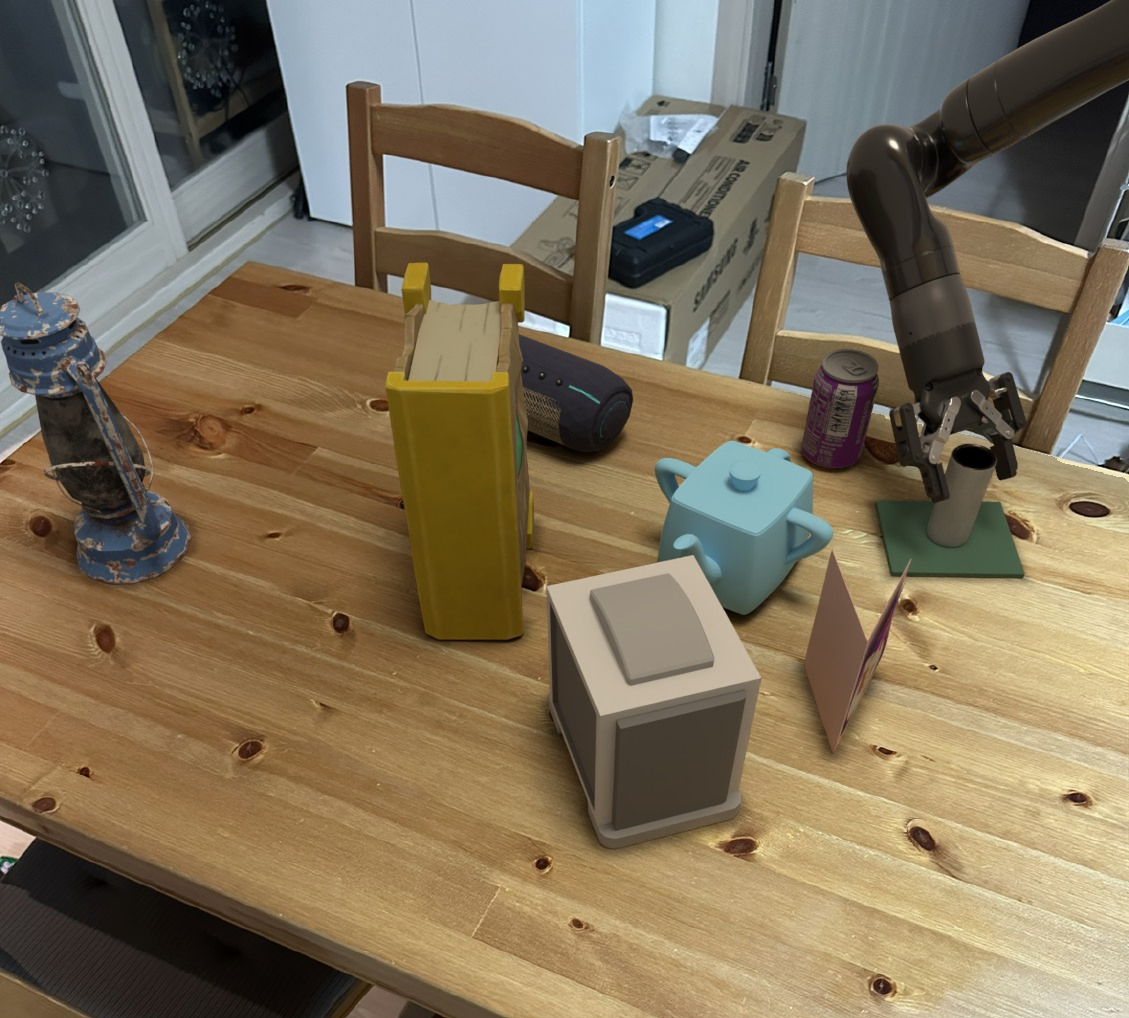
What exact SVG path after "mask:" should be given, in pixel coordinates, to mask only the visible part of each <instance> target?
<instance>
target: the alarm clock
mask: <svg viewBox="0 0 1129 1018" xmlns="http://www.w3.org/2000/svg"><path fill="white" fill-rule="evenodd" d="M546 611H547V613H546V615H547V617H546V618H547V643H548V645H547V648H548V676H549V677H548V678H549V692H548V696H547V697H548V698H547V700H548V701H547V704H548V707H547V708H548V709H549V713H550V715H551V717H552V720H553V723H554V726H555V728H556V730H557V734H562V737H563V739H564V742H565V745H566V747H567V750H568V752H569V755H570V757H571V760H572V763H573V765H574V768H575V771H576V773H577V776H578V778H579V779H578V780H579V781H580V784H581V786H582V789H583V792H584V794H585V797H586V800H587V812H588V815H589V818H590V820H591V823H592V826H593V829H594V831H595V834H596V837H597V839H598V842H599V844H600V845H602V846H603V847H605V848H608V849H613V850H616V849H621V848H625V847H629V846H632V845H636V844H640V843H644V842H648V841H651V840H656V839H659V838H663V837H667V836H671V835H675V834H679V833H682V832H688V831H690V830H694V829H699V828H702V827H706V826H709V825H714V824H717V823H721V822H725V821H730V820H734V818H735V817H736V816H737V815H738V814H739V812H740V807H741V803H742V799H743V798H742V797H743V795H742V794H741V792H740V786H741V782H742V776H743V771H744V767H745V761H746V757H747V753H748V752H747V751H748V746H749V741H750V737H751V732H752V728H753V727H752V726H753V722H754V717H755V712H756V707H757V702H758V697H759V692H760V688H761V682H762V676H761V674H760V672H759V671H758V669H757V667H756V665H755V663H754V661H753V660H752V658H751V656H750V653H748V651H747V649H746V647H745V645H744V643H743V642H742V640H741V638H740V636H739V635H738V633H737V631H736V629H735V627H734V625H733V624H732V622H731V621H730V618H729V616H728V614H727V613H726V611H725V608H724V607H722V606H721V604H720V602H719V600H718V599H717V597H716V595H715V593H714V591H713V590H712V588H711V586H710V584H709V582H708V581H707V579H706V577H705V575H704V573H703V572H702V570H701V568H700V566H699V564H698V562H697V561H696V559H695V557H694V555H691V556H687V557H682V558H677V559H672V560H667V561H662V562H658V561H657V562H653V563H649V564H644V565H640V566H639V565H638V566H634V567H630V568H629V567H628V568H625V569H620V570H616V571H611V572H606V573H600V574H597V575H592V576H587V577H583V578H582V577H581V578H578V579H574V580H568V581H564V582H559V583H555V584H550V585H546Z"/></svg>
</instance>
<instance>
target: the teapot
mask: <svg viewBox="0 0 1129 1018" xmlns="http://www.w3.org/2000/svg"><path fill="white" fill-rule="evenodd" d="M654 475H655V478H656V482H657V484H658V486H659V488H660V490H661V492H662V493H663V495H664V497H665V498H666V500H667V502H668V503H669V505H668V508H667V512H666V515H665V518H664V521H663V525H662V530H661V534H660V540H659V546H658V550H657V551H658V552H657V562H662V561H667V560H672V559H677V558H682V557H687V556H691V555H694V557H695V559H696V561H697V562H698V564H699V566H700V568H701V570H702V572H703V573H704V575H705V577H706V579H707V581H708V582H709V584H710V586H711V588H712V590H713V591H714V593H715V595H716V597H717V599H718V600H719V602H720V604H721V606H722V608H723V609H726V610H729V611H731V612H734V613H737V614H740V615H743V616H744V615H748V614H750V613H751V612H753V611H754V610H755V609H756V608H758V607H759V606H760V605H761V604H762V603H763V602H764V601H765V600H766V599H767V598H769V596H770V595H771V594H773V593H774V591H775V590H777V588H778V587H779V586H780V585H781V583H783V581H784V580H785V579H786V577H787V576H788V574H789V573H790V571H791V570H792V569H793V567H794V565H795V564H796V563H797V561H800V560H803V559H806V558H809V557H811V556H813V555H816V554H818V553H819V552H821V551H823V550H824V549H825V548H826V547H827V546H828V545H829V544H830V543H831V541H832V540H833V538H834V529H833V527H832V526H831V524H830V523H829V522H827V520H825V519H823V518H821V517H820V516H817V515H815V514H813V511H814V510H813V509H814V474H813V472H812V471H811V470H809V469H807V468H806V467H803V466H801V465H798V464H796V463H794V462H792V457H791V455H790V454H789V452H788V451H786V450H784V449H783V448H778V447H773V448H770V449H768V450H767V451H763V450H761V449H758V448H755V447H752V446H750V445H747V444H744V443H742V442H738V441H736V440H728V441H726V442H724V443H723V444H721V445H720V446H719V447H717V448H716V449H715V450H714V451H713V452H712V453H710V454H709V455H708V456H706V458H704V460H703V461H702V462H701V463H699V464H698V465H697V466H695V465H692V464H690V463H688V462H685V461H683V460H680V459H678V458H673V457H662V458H660V459H659V460H658V461H657V462H656V463H655V465H654ZM676 476H677V477H679V478H682V479H684V481H682V483H681V484H680V485H679V483H678V480H677V477H676Z"/></svg>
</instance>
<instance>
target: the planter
mask: <svg viewBox="0 0 1129 1018" xmlns="http://www.w3.org/2000/svg"><path fill="white" fill-rule="evenodd" d="M996 463H997V457H996V455H995V454H994V452H993V451H992V450H990V447H987V446H985V445H982V444H979V443H972V442H971V443H970V442H969V443H967V442H966V443H961V444H959V445H956V446H955V447H954V448H953V449H952V451H951V454H950V455H949V459H948V463H947V466H946V469H945V470H944V474H945V477H946V481H947V485H948V489H949V493H950V497H949V499H947V500H944V501H941V502H937V503H935V505H934V508H933V511H932V514H931V517H930V520H929V523H928V526H927V535H928V537H929V538H930V539H931V540H932V541H933V542H934V543H936V544H938V545H941V546H944V547H958V546H961V545H963V544H965V543H966V542H967V540H968V538H969V536H970V533H971V530H972V528H973V525H974V522H975V520H976V517H977V514H978V512H979V509H980V506H981V504H982V502H984V499H985V495H986V492H987V490H988V487H989V484H990V482H991V479H992V477H993V474H994V471H995V466H996Z"/></svg>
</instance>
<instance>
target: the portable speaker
mask: <svg viewBox="0 0 1129 1018" xmlns="http://www.w3.org/2000/svg"><path fill="white" fill-rule="evenodd" d="M519 346H520V350H521V354H522V358H523V363H522V368H521V377H522V384H523V391H524V399H525V406H526V413H527V420H528V429H527V432H531V433H533V434H535V435H538V436H541V437H543V438H546V439H548V440H550V441H553V442H554V443H558V444H559V445H562V446H565V447H566V448H569V449H572V450H574V451H577V452H581V453H582V452H583V453H592V452H597V451H598V452H599V451H602V450H605V449H606V448H608V447H609V446H610V445H611V444H612V443H613V442H614V441H615V440H616V439H617V438H618V437H619V436H620V435H621V433H622V431H623V429H624V427H625V426H626V424H627V422H628V420H629V419H630V416H631V413H632V409H633V408H632V407H633V403H634V394H633V389H632V387H630V385H629V384H628V382H627V381H626V380H625V379H624V378H623V377H621V376H620V375H619V374H617V373H615V372H614V371H612V370H611V369H609V368H608V367H607V366H604V365H603V364H600V363H597V362H594V361H592V360H589V359H587V358H583V357H581V356H578V355H576V354H573V353H570V352H568V351H566V350H562V349H560V348H557V347H554V346H553V345H549V344H547V343H544V342H541V341H538V340H535V339H534V338H530V337H527V336H525V335H522V334H520V333H519Z"/></svg>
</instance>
